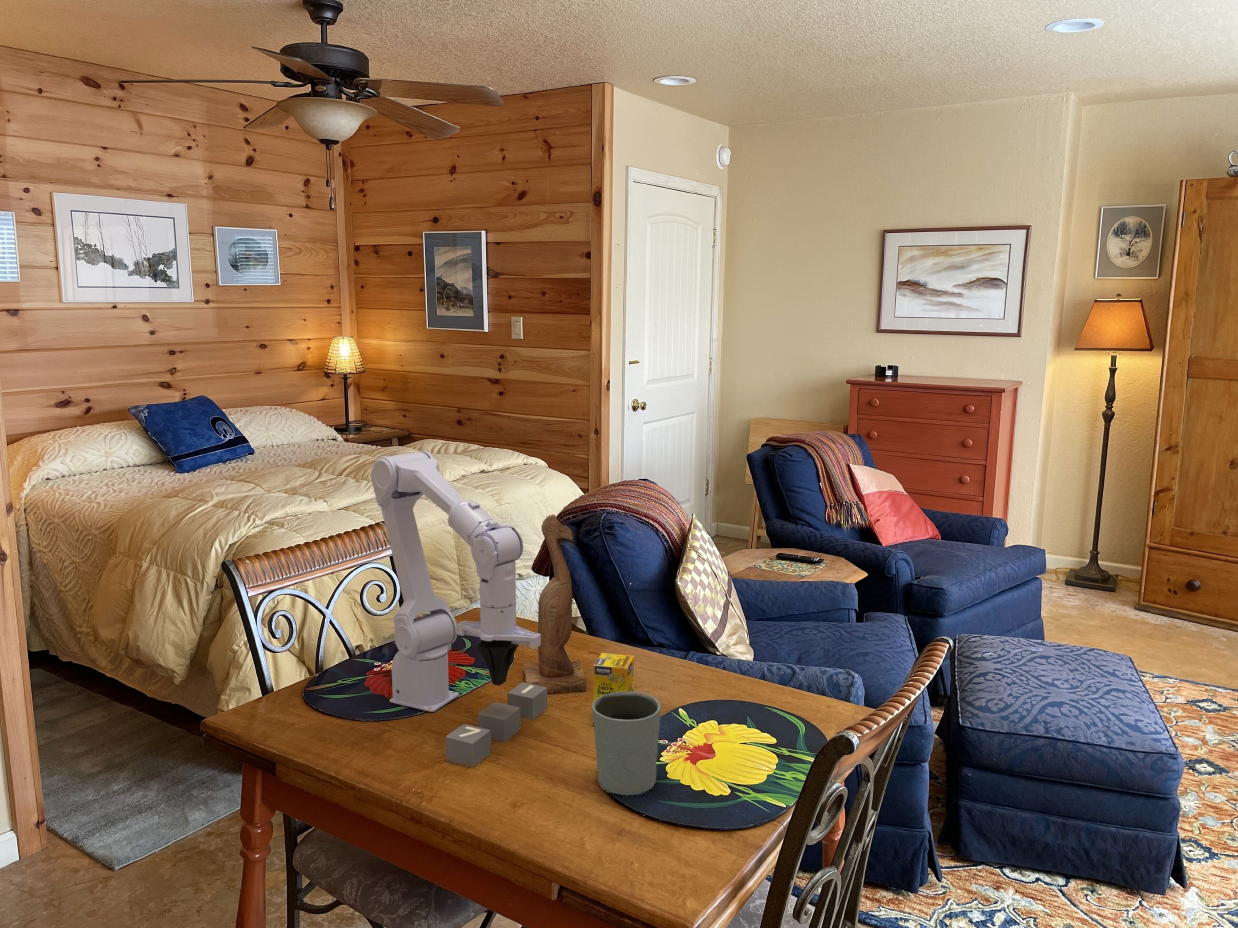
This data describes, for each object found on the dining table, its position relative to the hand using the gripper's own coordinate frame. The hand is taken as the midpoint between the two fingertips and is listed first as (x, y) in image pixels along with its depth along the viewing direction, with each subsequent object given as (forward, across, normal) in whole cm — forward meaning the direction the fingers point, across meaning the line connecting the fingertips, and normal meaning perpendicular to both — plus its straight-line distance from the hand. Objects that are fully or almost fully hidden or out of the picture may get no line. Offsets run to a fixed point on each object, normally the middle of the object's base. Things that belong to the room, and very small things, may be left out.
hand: (499, 682), depth 149 cm
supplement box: (+9, +15, +12) cm, 21 cm away
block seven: (+9, 0, -9) cm, 13 cm away
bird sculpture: (+9, -2, +22) cm, 24 cm away
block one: (+9, 0, +9) cm, 13 cm away
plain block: (+9, 0, 0) cm, 9 cm away
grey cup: (+9, +25, -5) cm, 27 cm away
